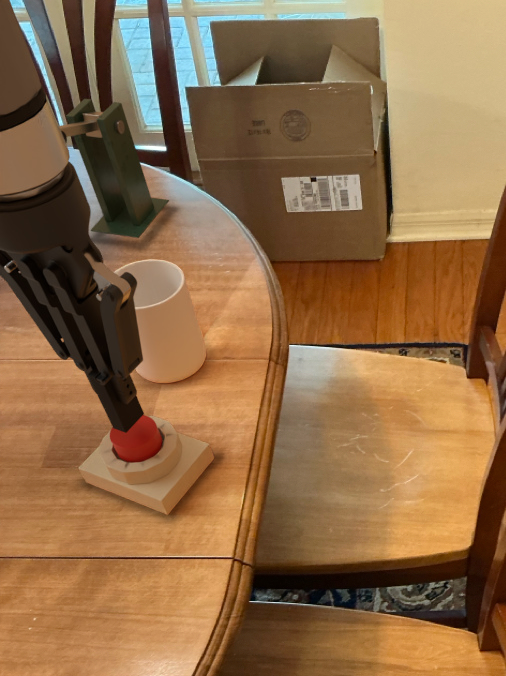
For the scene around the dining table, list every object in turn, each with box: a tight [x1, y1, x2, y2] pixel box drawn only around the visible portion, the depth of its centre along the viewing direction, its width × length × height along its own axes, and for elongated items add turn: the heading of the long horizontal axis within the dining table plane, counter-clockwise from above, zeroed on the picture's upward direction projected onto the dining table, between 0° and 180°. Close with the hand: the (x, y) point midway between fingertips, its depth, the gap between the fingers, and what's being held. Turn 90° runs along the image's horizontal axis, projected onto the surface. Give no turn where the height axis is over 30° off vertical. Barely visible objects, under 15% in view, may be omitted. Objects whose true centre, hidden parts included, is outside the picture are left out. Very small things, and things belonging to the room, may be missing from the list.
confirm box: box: [78, 415, 215, 516], centre depth 75 cm, size 10×8×4 cm
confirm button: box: [109, 414, 163, 463], centre depth 73 cm, size 4×4×2 cm
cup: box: [113, 258, 207, 384], centre depth 84 cm, size 8×12×10 cm
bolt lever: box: [59, 110, 104, 144], centre depth 88 cm, size 13×6×2 cm, turn 164°
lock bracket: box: [65, 98, 170, 239], centre depth 97 cm, size 9×7×15 cm
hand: (128, 420), depth 71 cm, fingers closed
